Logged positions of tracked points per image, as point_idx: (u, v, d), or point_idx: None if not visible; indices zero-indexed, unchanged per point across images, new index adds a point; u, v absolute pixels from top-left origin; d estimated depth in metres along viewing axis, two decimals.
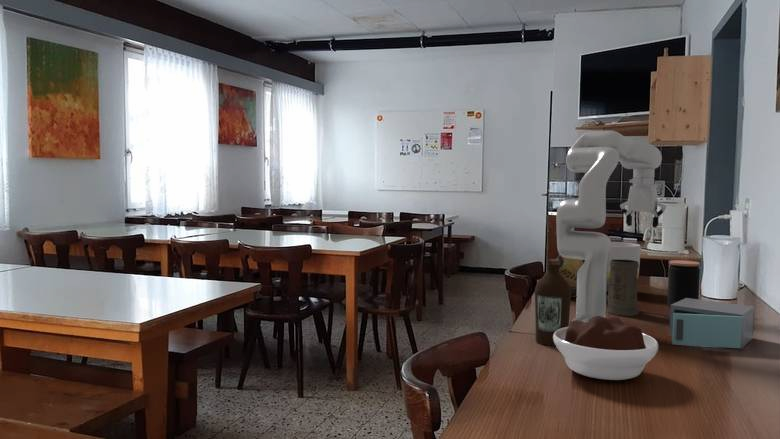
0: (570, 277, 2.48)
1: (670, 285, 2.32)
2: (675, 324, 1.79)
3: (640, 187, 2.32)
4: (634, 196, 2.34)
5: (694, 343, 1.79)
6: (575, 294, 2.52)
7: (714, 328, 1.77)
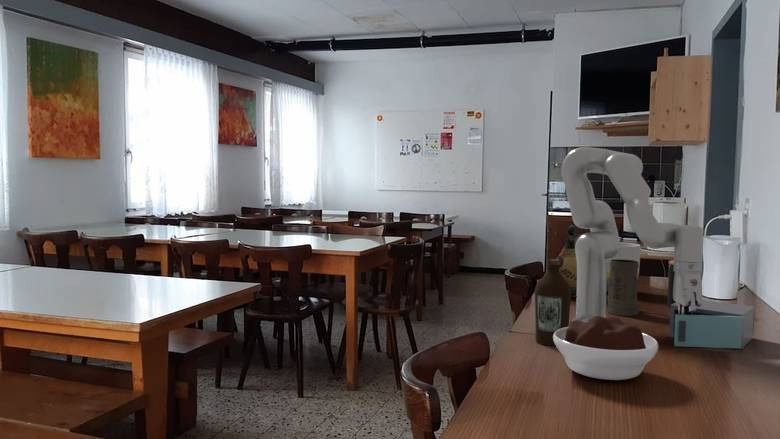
0: (570, 277, 2.48)
1: (670, 285, 2.32)
2: (677, 325, 1.77)
3: None
4: None
5: (696, 344, 1.77)
6: (575, 294, 2.52)
7: (715, 329, 1.76)
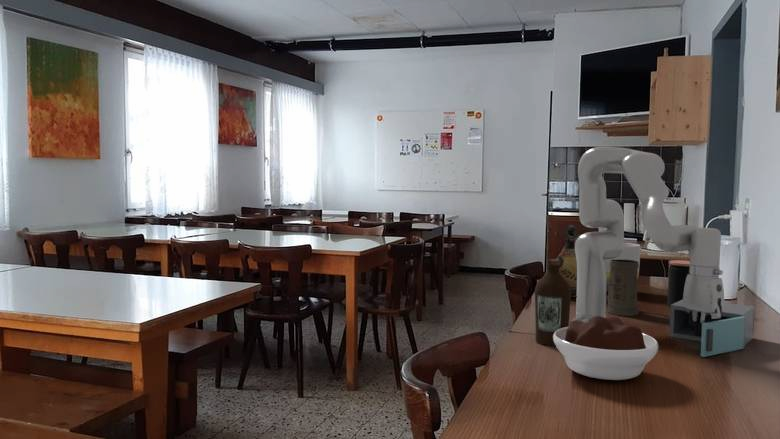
0: (570, 277, 2.48)
1: (670, 285, 2.32)
2: (705, 335, 1.67)
3: None
4: None
5: (717, 351, 1.70)
6: (575, 294, 2.52)
7: (729, 332, 1.72)
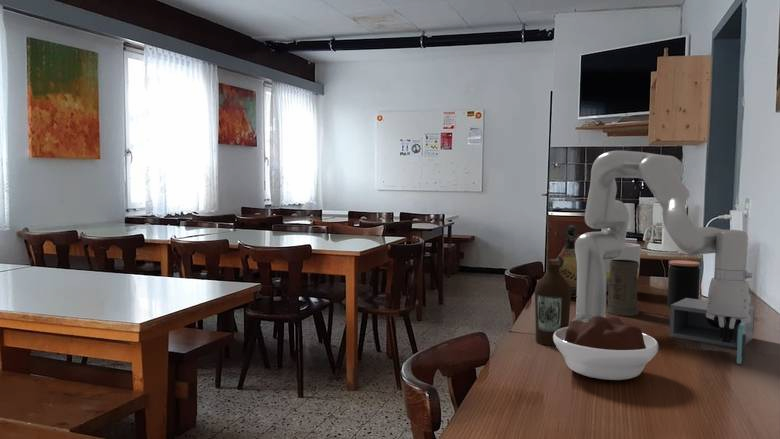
0: (570, 277, 2.48)
1: (670, 285, 2.32)
2: (742, 341, 1.61)
3: None
4: None
5: None
6: (575, 294, 2.52)
7: None
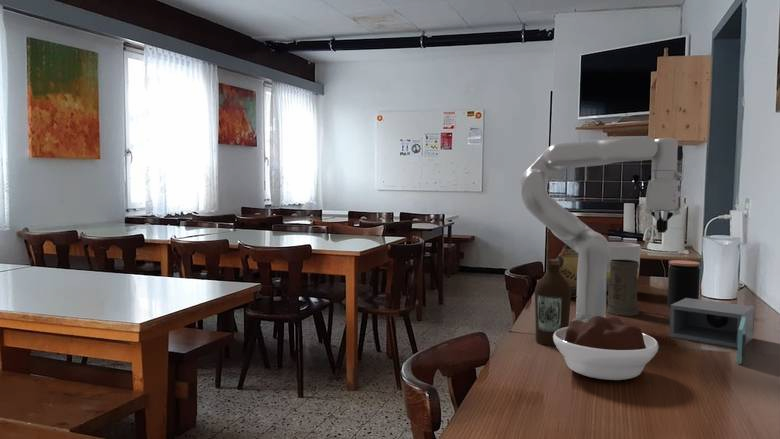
0: (570, 277, 2.48)
1: (670, 285, 2.32)
2: (742, 341, 1.61)
3: None
4: None
5: None
6: (575, 294, 2.52)
7: None
